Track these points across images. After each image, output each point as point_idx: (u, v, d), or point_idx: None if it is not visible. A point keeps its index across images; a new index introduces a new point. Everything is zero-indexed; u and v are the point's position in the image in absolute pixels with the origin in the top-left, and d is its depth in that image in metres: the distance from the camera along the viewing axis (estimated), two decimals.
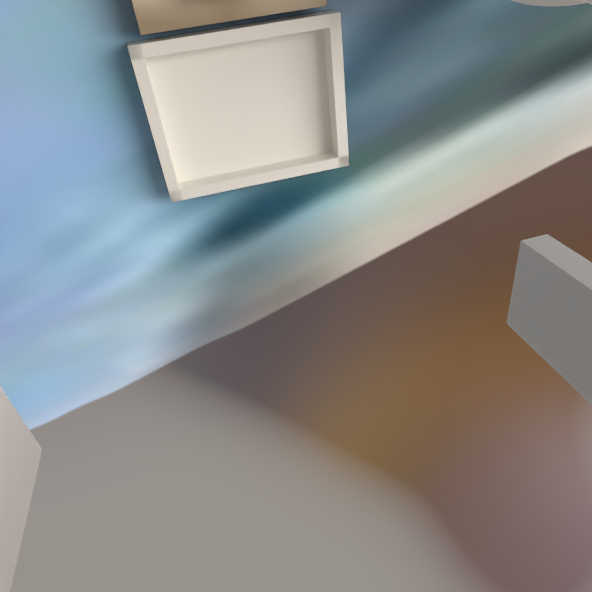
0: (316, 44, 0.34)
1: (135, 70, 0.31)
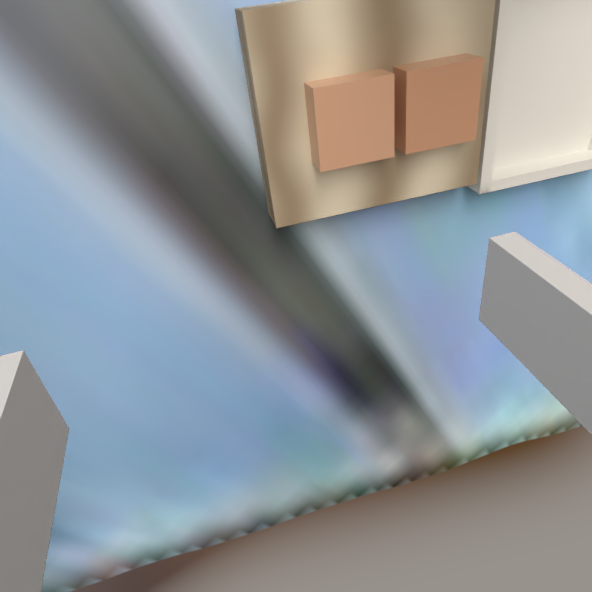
0: None
1: (497, 189, 0.34)
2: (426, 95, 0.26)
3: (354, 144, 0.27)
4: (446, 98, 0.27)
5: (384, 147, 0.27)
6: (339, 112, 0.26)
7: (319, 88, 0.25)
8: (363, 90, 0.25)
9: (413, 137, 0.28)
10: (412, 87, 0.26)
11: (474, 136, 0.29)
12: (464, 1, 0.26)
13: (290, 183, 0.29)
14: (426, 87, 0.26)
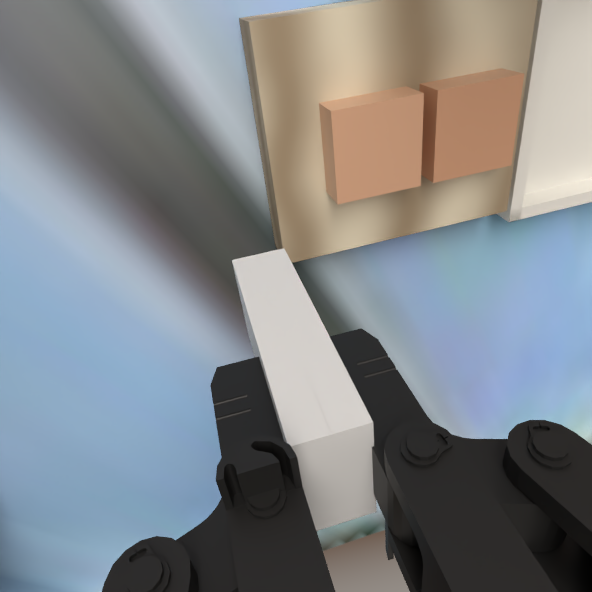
0: None
1: (528, 216, 0.30)
2: (458, 117, 0.23)
3: (376, 173, 0.24)
4: (481, 120, 0.23)
5: (410, 175, 0.24)
6: (360, 137, 0.22)
7: (338, 110, 0.21)
8: (388, 112, 0.22)
9: (442, 164, 0.24)
10: (443, 108, 0.23)
11: (510, 161, 0.25)
12: (502, 9, 0.23)
13: (302, 215, 0.26)
14: (459, 108, 0.23)
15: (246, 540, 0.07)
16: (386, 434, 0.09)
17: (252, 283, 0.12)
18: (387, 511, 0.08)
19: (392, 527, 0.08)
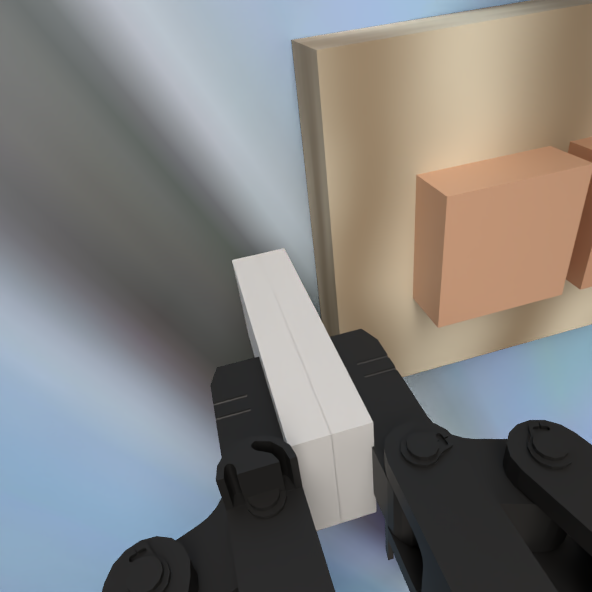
0: None
1: None
2: None
3: (501, 281, 0.15)
4: None
5: (549, 282, 0.16)
6: (486, 233, 0.14)
7: (459, 196, 0.13)
8: (535, 194, 0.14)
9: None
10: None
11: None
12: None
13: (374, 330, 0.17)
14: None
15: (246, 540, 0.07)
16: (386, 434, 0.09)
17: (252, 282, 0.12)
18: (387, 511, 0.08)
19: (392, 527, 0.08)
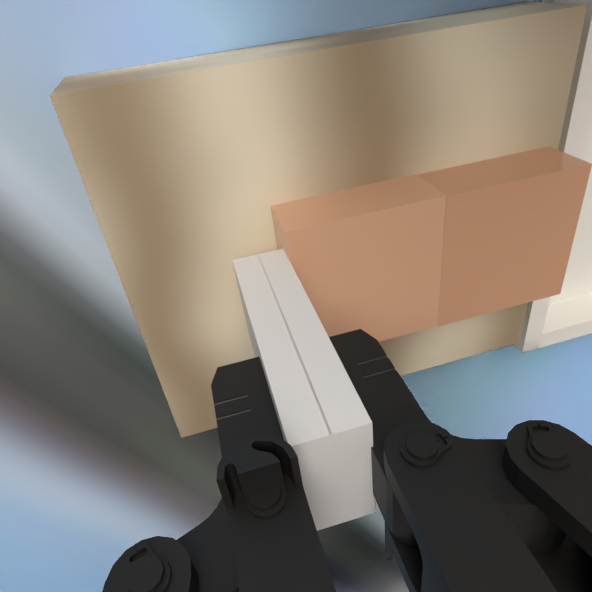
0: None
1: (551, 343, 0.21)
2: (481, 233, 0.14)
3: (366, 314, 0.14)
4: (517, 235, 0.14)
5: (420, 314, 0.15)
6: (338, 267, 0.13)
7: (299, 231, 0.12)
8: (385, 228, 0.13)
9: (452, 301, 0.15)
10: (456, 222, 0.13)
11: (558, 289, 0.16)
12: (518, 62, 0.13)
13: (200, 374, 0.16)
14: (482, 220, 0.14)
15: (247, 540, 0.07)
16: (385, 434, 0.09)
17: (252, 282, 0.12)
18: (387, 511, 0.08)
19: (392, 527, 0.08)
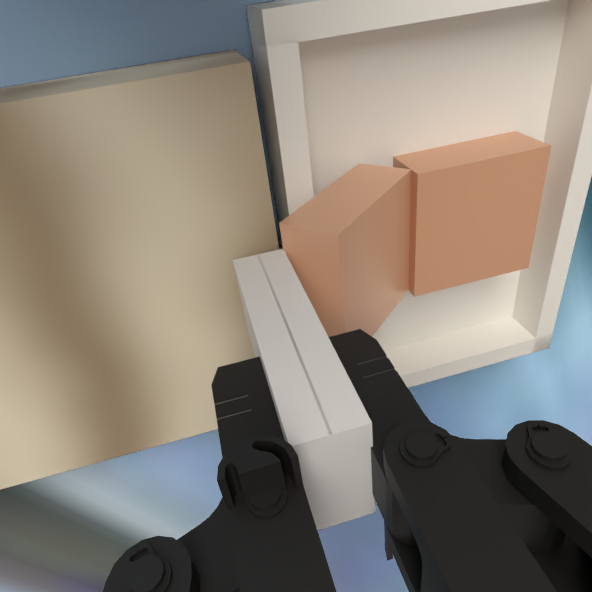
0: (323, 51, 0.14)
1: None
2: None
3: (378, 298, 0.15)
4: None
5: (402, 283, 0.17)
6: (365, 258, 0.14)
7: (345, 230, 0.12)
8: (386, 209, 0.14)
9: None
10: None
11: None
12: (183, 125, 0.12)
13: None
14: None
15: (247, 540, 0.07)
16: (385, 434, 0.09)
17: (252, 282, 0.12)
18: (386, 511, 0.08)
19: (391, 527, 0.08)
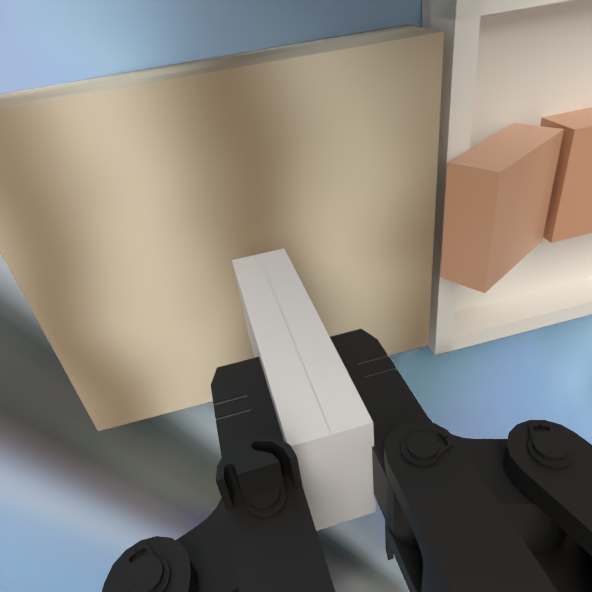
0: (483, 26, 0.16)
1: (463, 346, 0.22)
2: None
3: (517, 239, 0.18)
4: None
5: (537, 232, 0.19)
6: (514, 199, 0.16)
7: (505, 170, 0.15)
8: (538, 160, 0.16)
9: None
10: None
11: None
12: (382, 85, 0.14)
13: (107, 373, 0.18)
14: None
15: (246, 540, 0.07)
16: (386, 434, 0.09)
17: (252, 283, 0.12)
18: (387, 511, 0.08)
19: (392, 527, 0.08)
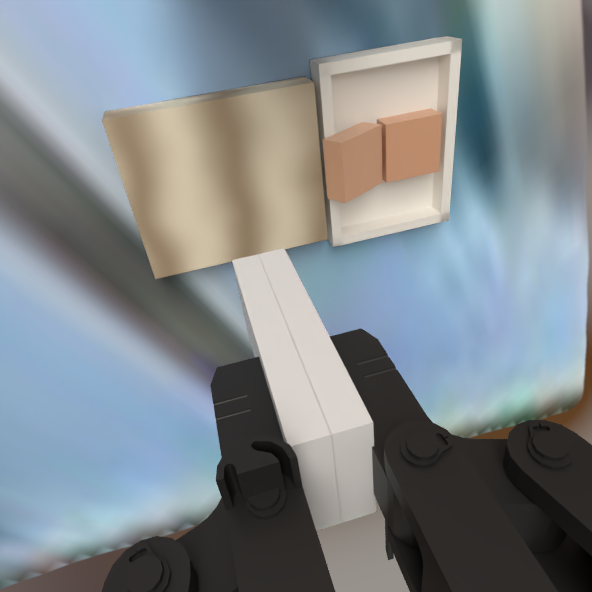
0: (339, 77, 0.34)
1: (349, 242, 0.40)
2: None
3: (362, 178, 0.36)
4: None
5: (377, 176, 0.37)
6: (355, 157, 0.35)
7: (345, 142, 0.33)
8: (366, 139, 0.35)
9: None
10: None
11: None
12: (289, 105, 0.33)
13: (162, 244, 0.36)
14: None
15: (246, 540, 0.07)
16: (386, 434, 0.09)
17: (252, 282, 0.12)
18: (387, 511, 0.08)
19: (392, 527, 0.08)
